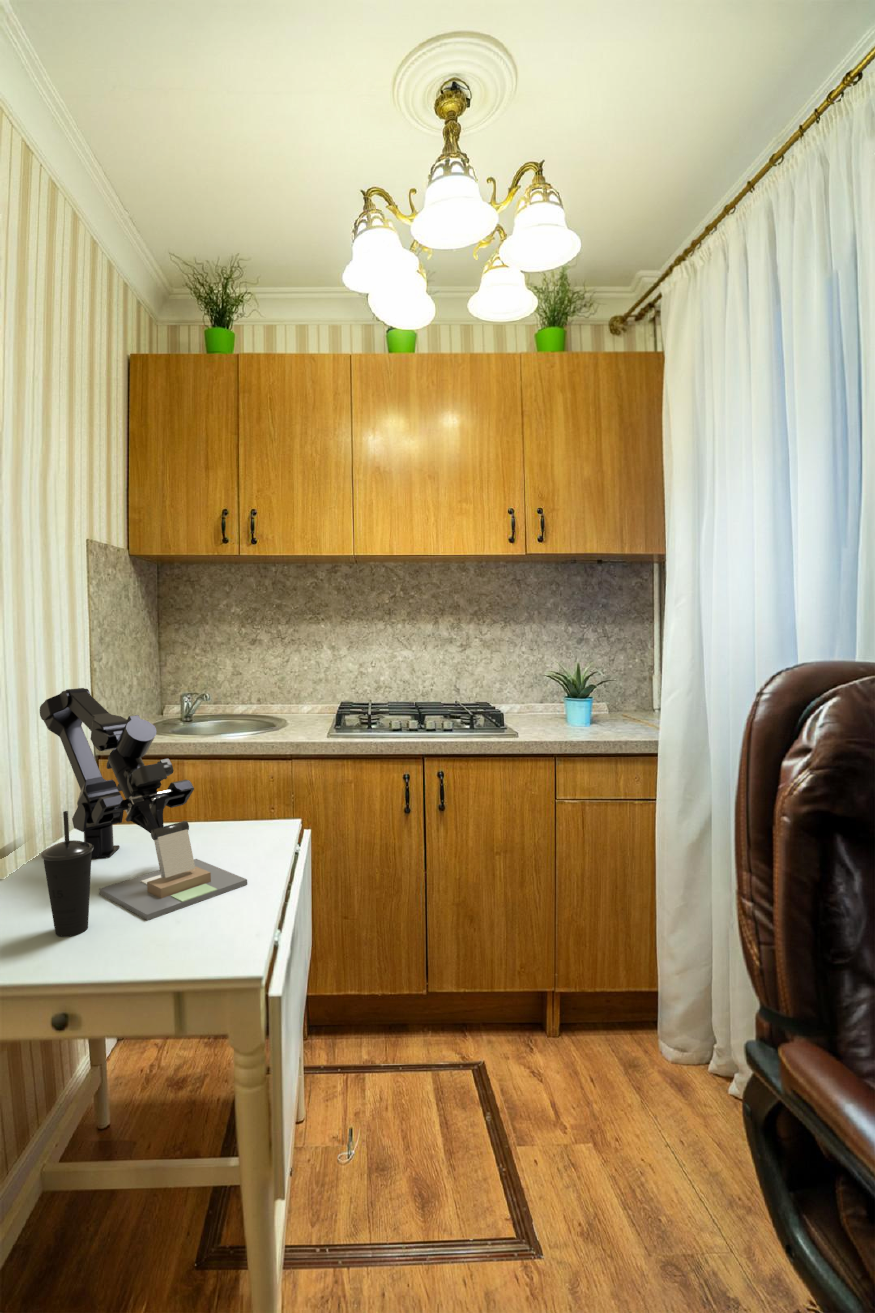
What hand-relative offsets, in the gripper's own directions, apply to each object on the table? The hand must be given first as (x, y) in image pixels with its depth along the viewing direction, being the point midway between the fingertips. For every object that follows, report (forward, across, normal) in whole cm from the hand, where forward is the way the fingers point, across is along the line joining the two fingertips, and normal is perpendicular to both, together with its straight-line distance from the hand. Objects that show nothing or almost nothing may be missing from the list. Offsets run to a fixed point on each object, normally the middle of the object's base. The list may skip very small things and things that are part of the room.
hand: (161, 837), depth 137 cm
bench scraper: (+9, 0, 0) cm, 9 cm away
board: (+9, 0, +4) cm, 10 cm away
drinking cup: (+11, -20, +2) cm, 23 cm away
